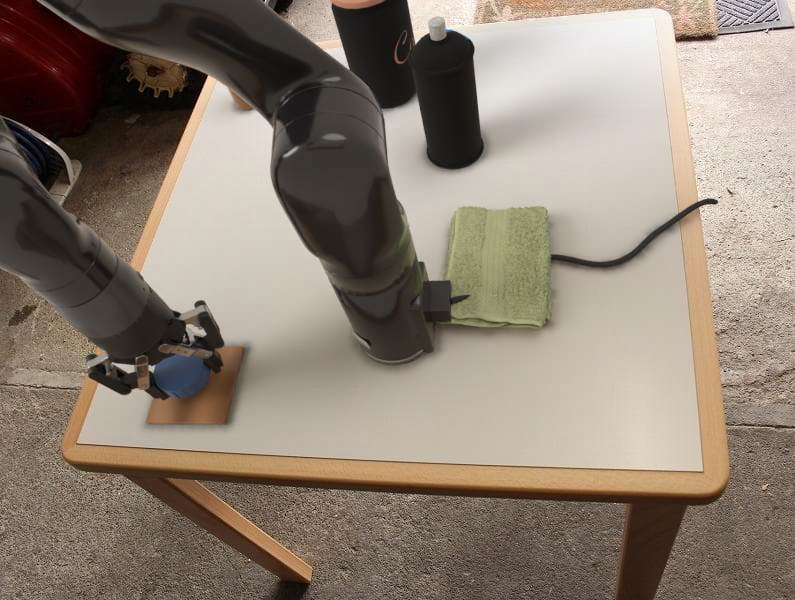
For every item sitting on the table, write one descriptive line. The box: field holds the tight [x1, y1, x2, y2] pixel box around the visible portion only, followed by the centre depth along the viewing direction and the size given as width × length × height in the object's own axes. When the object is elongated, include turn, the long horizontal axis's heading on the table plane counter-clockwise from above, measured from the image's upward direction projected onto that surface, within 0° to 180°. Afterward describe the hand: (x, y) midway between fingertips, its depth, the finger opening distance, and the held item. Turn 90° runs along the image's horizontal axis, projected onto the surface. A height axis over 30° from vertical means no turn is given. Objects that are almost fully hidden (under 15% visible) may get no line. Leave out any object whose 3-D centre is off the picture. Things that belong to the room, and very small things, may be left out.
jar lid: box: [152, 354, 211, 399], centre depth 70 cm, size 6×6×2 cm
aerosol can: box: [408, 16, 485, 170], centre depth 79 cm, size 8×8×20 cm
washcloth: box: [439, 205, 554, 330], centre depth 73 cm, size 13×18×3 cm
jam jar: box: [226, 87, 255, 112], centre depth 99 cm, size 5×5×11 cm
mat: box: [145, 345, 246, 426], centre depth 73 cm, size 10×10×1 cm
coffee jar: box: [329, 0, 417, 110], centre depth 91 cm, size 11×11×18 cm
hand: (191, 379), depth 72 cm, fingers closed on jar lid, 6 cm apart
